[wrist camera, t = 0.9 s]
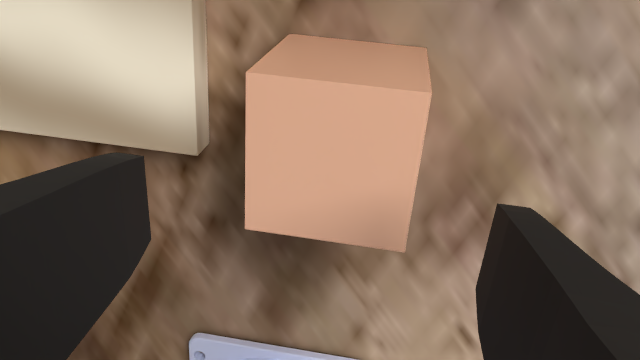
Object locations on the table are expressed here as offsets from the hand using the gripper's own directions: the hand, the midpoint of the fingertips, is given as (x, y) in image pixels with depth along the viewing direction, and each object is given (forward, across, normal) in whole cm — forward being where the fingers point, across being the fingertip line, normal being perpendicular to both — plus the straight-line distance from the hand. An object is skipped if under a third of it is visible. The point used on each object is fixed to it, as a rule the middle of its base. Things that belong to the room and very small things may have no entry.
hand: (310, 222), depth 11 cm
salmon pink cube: (+8, 0, 0) cm, 8 cm away
